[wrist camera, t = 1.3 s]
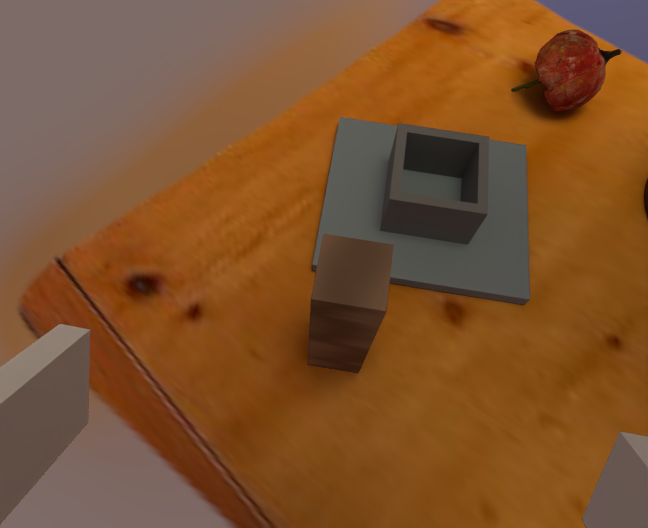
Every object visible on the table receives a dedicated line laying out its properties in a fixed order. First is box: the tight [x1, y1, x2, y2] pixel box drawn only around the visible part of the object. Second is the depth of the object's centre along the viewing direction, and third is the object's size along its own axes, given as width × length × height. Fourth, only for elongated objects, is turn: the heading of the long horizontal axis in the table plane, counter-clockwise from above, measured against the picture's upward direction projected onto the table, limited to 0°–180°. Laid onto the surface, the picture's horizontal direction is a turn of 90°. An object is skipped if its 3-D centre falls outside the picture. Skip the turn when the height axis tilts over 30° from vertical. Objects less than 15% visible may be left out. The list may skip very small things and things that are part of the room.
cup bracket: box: [312, 117, 530, 305], centre depth 43 cm, size 18×16×6 cm
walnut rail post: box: [308, 233, 394, 373], centre depth 33 cm, size 4×4×14 cm
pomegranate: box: [511, 30, 622, 111], centre depth 49 cm, size 7×7×10 cm
